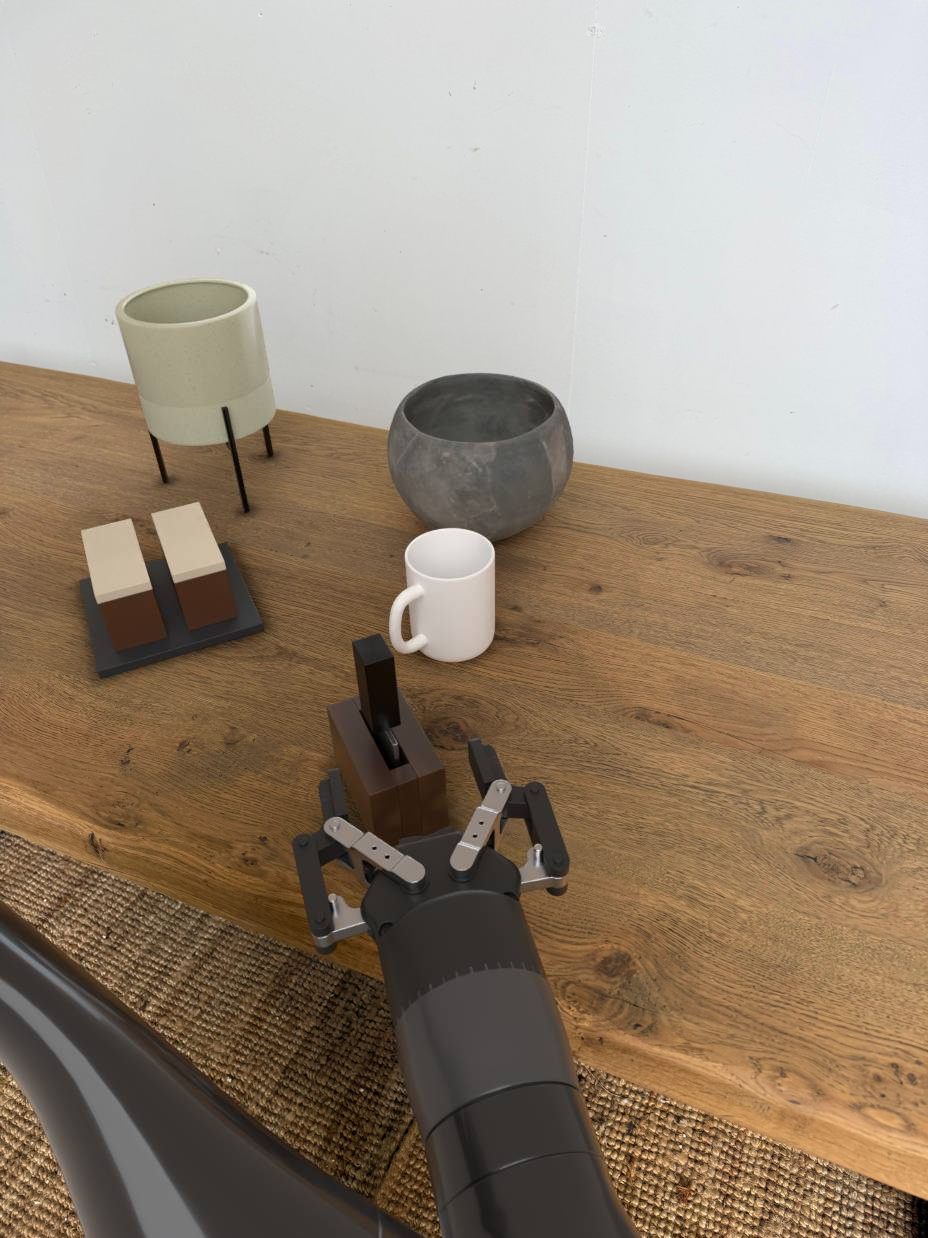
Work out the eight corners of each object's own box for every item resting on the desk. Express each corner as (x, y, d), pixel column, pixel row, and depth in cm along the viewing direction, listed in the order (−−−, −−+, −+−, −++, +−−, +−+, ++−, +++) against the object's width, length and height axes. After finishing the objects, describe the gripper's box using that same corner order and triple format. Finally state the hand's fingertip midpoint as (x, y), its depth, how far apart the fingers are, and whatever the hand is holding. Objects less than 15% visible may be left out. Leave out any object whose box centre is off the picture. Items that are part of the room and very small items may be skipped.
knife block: (377, 854, 66) (368, 796, 62) (336, 764, 73) (325, 706, 69) (448, 826, 68) (445, 767, 64) (401, 741, 75) (396, 683, 71)
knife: (391, 826, 68) (372, 679, 58) (365, 773, 73) (343, 628, 62) (416, 816, 69) (402, 669, 59) (389, 764, 73) (372, 619, 63)
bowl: (358, 520, 102) (344, 402, 93) (485, 460, 112) (484, 349, 103) (473, 598, 90) (470, 472, 81) (603, 523, 101) (615, 403, 91)
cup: (512, 634, 86) (513, 550, 79) (425, 697, 79) (419, 612, 73) (452, 599, 90) (449, 517, 84) (366, 657, 84) (355, 573, 77)
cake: (100, 679, 82) (73, 614, 77) (82, 587, 93) (57, 525, 88) (264, 630, 87) (250, 566, 82) (228, 548, 98) (213, 488, 93)
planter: (181, 452, 116) (135, 277, 101) (297, 452, 115) (269, 276, 101) (144, 514, 104) (86, 326, 90) (274, 514, 104) (237, 325, 89)
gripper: (627, 938, 39) (518, 694, 51) (310, 1023, 36) (275, 745, 48) (613, 1018, 44) (516, 777, 56) (333, 1098, 41) (295, 827, 53)
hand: (404, 762), depth 52 cm, fingers open, 8 cm apart
